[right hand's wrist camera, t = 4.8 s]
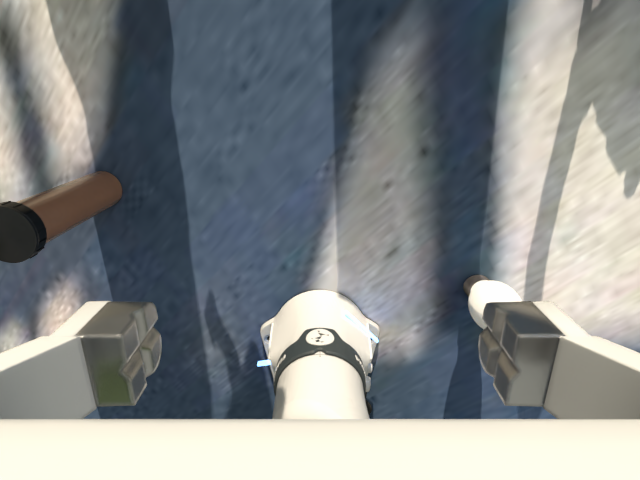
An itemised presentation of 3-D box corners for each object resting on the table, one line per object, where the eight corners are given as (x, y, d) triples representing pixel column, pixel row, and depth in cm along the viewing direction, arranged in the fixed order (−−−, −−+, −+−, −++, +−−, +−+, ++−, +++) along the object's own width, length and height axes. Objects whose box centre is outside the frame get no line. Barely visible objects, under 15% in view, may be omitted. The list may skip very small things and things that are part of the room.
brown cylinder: (125, 177, 57) (37, 218, 40) (119, 210, 59) (32, 263, 41) (88, 166, 57) (-18, 202, 39) (84, 199, 59) (-20, 249, 41)
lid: (50, 211, 41) (39, 216, 39) (45, 264, 43) (34, 270, 41) (-12, 192, 40) (-26, 197, 38) (-15, 247, 42) (-28, 253, 40)
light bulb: (451, 302, 64) (476, 343, 54) (460, 262, 62) (488, 298, 51) (494, 306, 64) (527, 347, 54) (504, 266, 62) (541, 302, 52)
